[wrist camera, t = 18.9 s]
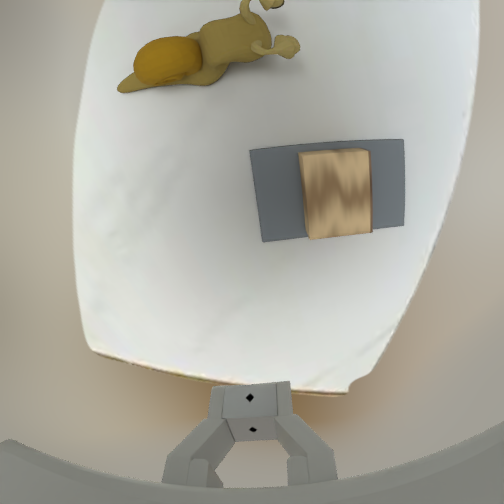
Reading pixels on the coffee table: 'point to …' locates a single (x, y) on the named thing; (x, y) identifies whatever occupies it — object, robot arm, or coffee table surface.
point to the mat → (290, 188)
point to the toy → (207, 51)
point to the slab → (337, 192)
